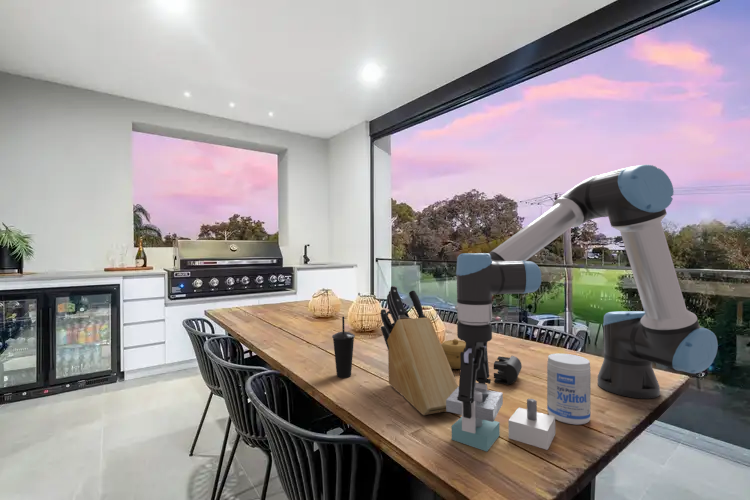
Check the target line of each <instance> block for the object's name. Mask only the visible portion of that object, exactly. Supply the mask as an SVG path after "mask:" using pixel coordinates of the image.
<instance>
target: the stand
mask: <svg viewBox="0 0 750 500" xmlns="http://www.w3.org/2000/svg"><path fill="white" fill-rule="evenodd" d="M537 403H538V401H537V400H536V399H534V398H527V399H526V408H522V407H518V408H517V409H516V410H515V412H514V413H512V415H511V416H510V418H509V419H508V422H507V423H508V424H507V425H508V439H511V440H514V441H516V442H520V443H523V444H527V445H530V446H533V447H536V448H540V449H543V450H546V451H548V450H549V448H550V446H551V445H552V442H553V440H554V438H555V436H556V419H555V416H551V415H549V414H547V413H542V412H538V406H537V405H538V404H537Z"/></svg>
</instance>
